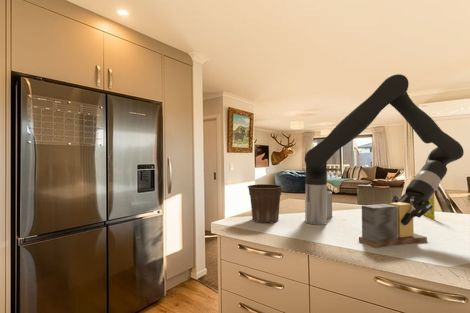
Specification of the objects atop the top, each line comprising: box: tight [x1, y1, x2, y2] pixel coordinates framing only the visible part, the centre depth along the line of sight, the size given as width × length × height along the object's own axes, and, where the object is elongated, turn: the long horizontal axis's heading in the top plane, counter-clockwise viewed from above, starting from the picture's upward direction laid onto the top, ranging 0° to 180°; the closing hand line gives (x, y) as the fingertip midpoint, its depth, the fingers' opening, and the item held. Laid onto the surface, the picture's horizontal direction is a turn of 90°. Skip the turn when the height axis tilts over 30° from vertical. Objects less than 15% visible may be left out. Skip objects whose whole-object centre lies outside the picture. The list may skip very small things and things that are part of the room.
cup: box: [327, 190, 333, 219], centre depth 129 cm, size 9×9×12 cm
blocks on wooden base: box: [358, 203, 428, 249], centre depth 89 cm, size 22×7×12 cm, turn 106°
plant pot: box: [247, 183, 283, 224], centre depth 121 cm, size 16×16×16 cm
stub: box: [388, 202, 414, 237], centre depth 90 cm, size 6×4×11 cm, turn 106°
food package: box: [419, 192, 435, 220], centre depth 127 cm, size 15×1×20 cm, turn 168°
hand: (397, 221), depth 89 cm, fingers closed on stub, 4 cm apart
